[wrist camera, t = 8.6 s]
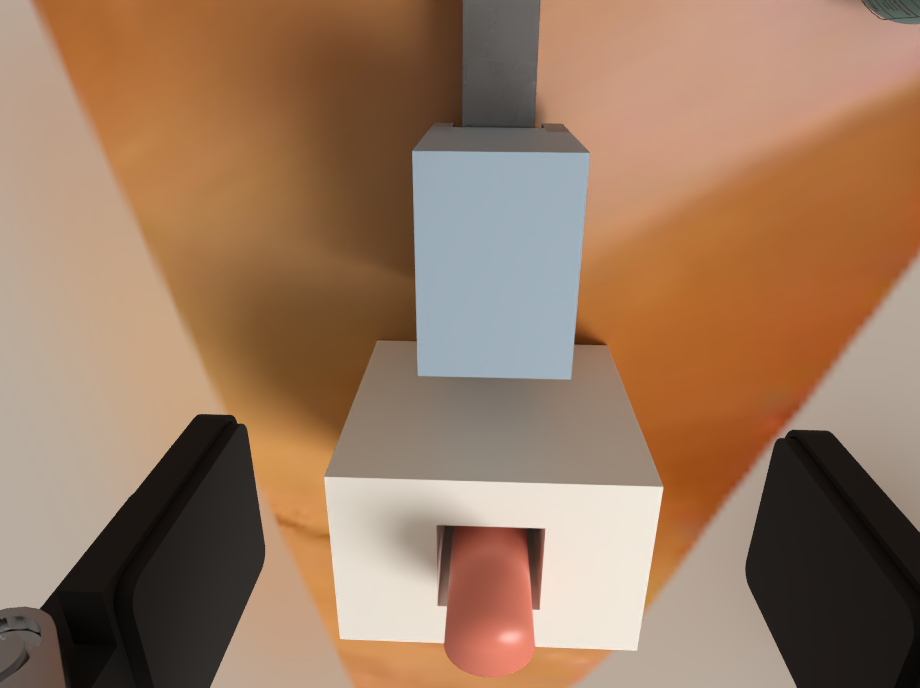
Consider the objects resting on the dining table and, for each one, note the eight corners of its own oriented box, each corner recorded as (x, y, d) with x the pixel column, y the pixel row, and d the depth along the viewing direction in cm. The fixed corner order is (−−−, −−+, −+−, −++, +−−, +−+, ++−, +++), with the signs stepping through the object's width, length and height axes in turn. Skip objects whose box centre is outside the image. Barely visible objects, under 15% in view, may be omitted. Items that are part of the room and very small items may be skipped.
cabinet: (369, 340, 34) (312, 476, 23) (607, 345, 34) (663, 486, 23) (377, 467, 38) (330, 638, 27) (593, 473, 37) (637, 650, 26)
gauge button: (454, 479, 27) (443, 610, 21) (526, 481, 27) (537, 613, 21) (454, 536, 29) (444, 675, 22) (523, 538, 29) (532, 679, 22)
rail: (467, -284, 24) (464, -319, 22) (549, -285, 24) (556, -321, 21) (463, 342, 34) (461, 363, 32) (520, 343, 34) (522, 364, 32)
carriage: (433, 122, 29) (412, 151, 21) (562, 123, 28) (590, 153, 20) (435, 294, 32) (417, 376, 24) (550, 296, 32) (570, 379, 24)
